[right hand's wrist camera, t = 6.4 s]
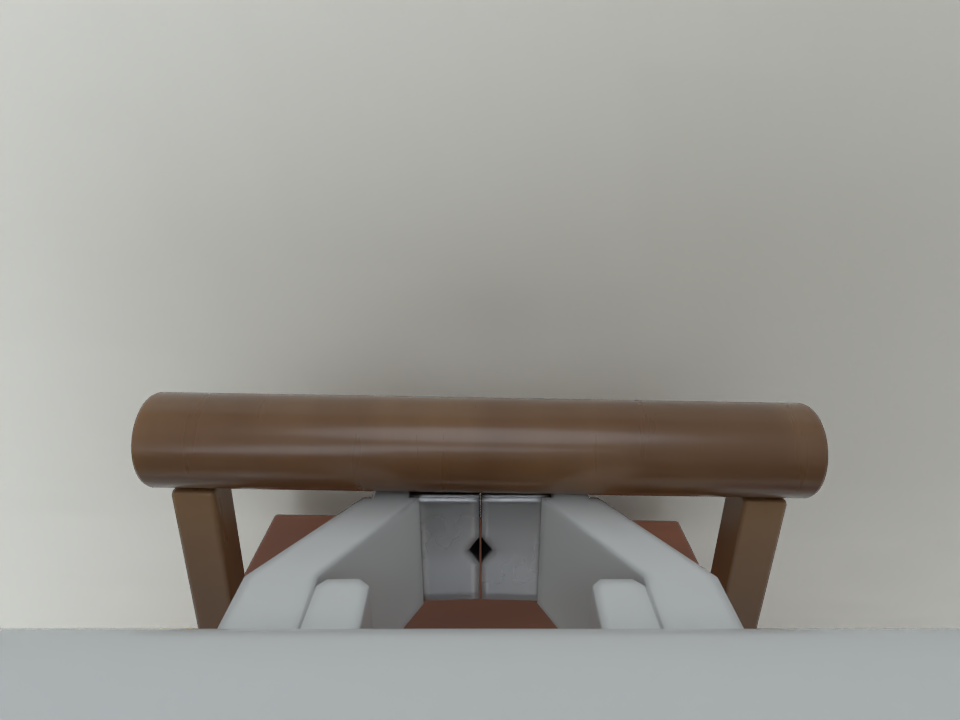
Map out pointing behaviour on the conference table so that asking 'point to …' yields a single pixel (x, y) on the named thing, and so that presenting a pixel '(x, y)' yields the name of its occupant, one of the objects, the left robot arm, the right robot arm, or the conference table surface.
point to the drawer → (475, 473)
